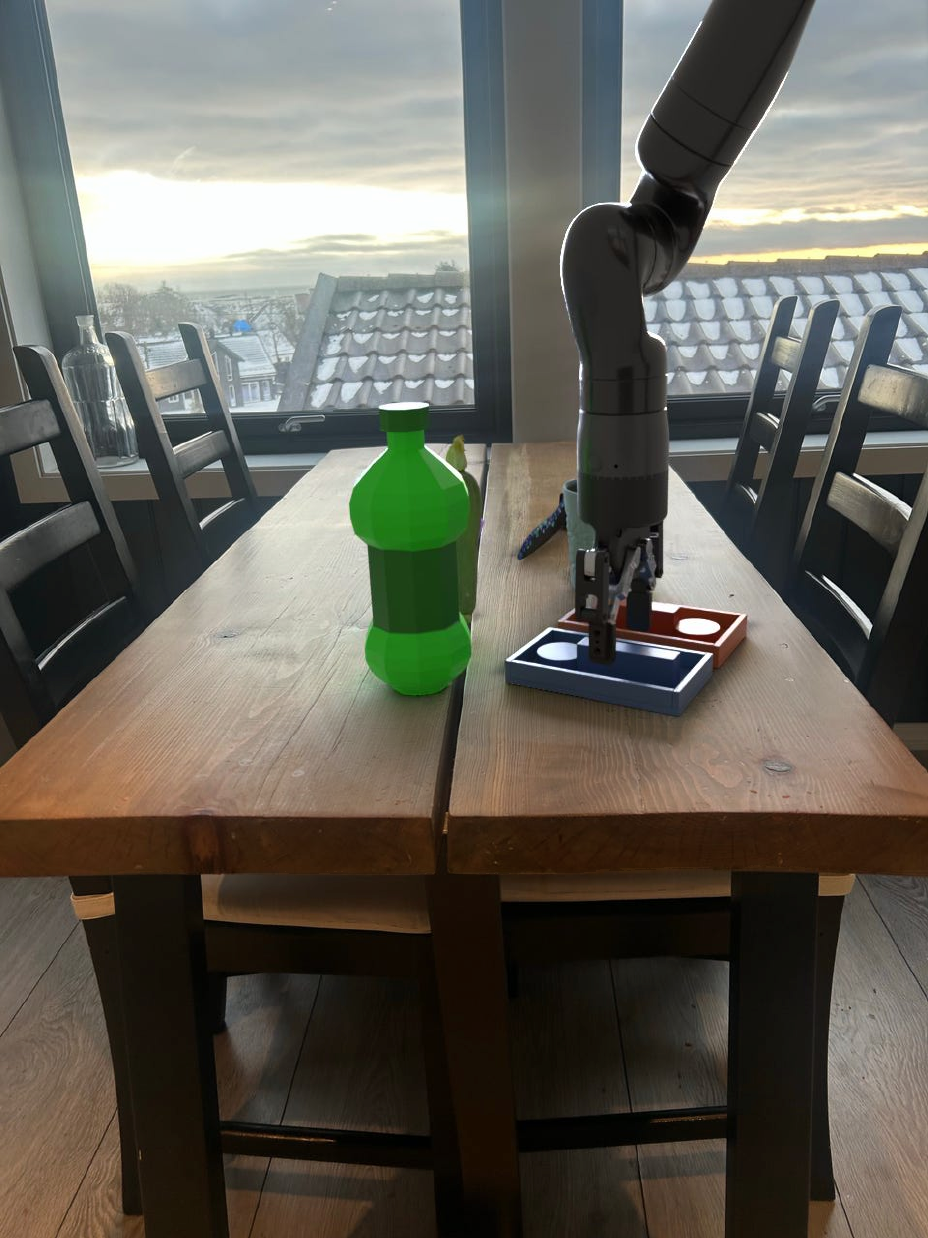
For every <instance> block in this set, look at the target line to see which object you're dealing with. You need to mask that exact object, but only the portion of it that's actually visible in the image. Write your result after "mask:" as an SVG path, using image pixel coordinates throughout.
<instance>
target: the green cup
mask: <svg viewBox="0 0 928 1238" xmlns="http://www.w3.org/2000/svg"><path fill="white" fill-rule="evenodd" d="M562 493H563V495H564V504H565V511H566V514H567V518H566V521H567V526H566V530H567V538H568V541H567V544H568V555H569V567H570V580H571V587H572V589H573V590H574V591H575V577H576V553H577V551H578V550H579V549H582V550H592V547H593V544H594V537H595V530H594V528H593V527H592V526H591V525H589V524H585V523H584V522H582V521H581V520H580V519H579V517H578V514H577V477H576V478H572V479H570V480H567V481H566V482H564V484H563V486H562ZM609 585H610V586H616V585H611V584H609ZM629 589H631V588H629ZM588 596H589V594H586V597H588Z"/></svg>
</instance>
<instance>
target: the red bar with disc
mask: <svg viewBox="0 0 928 1238" xmlns="http://www.w3.org/2000/svg"><path fill="white" fill-rule="evenodd" d="M609 602H610V598H609V599H608V606H609ZM596 608H597V607H596ZM615 622H616V628H618V629H625V630H629V629H628V628H627V627H626V599H624V600H622V601H621V602H620V605H619V609H618V613H617V618H616V621H615ZM587 624H588V622H587ZM720 629H721V628H720V626H719V625H718V624H717V623H715V622H713V621H710V620H705V619H685V620H681V621H680V607H677V606H670V605H663V604H656V603H652V626H651V628H650V629H649V630H648V631H647V632H644V633H650V634H657V635H663V636H670V637H676V638H682V639H689V640H695V641H702V642H708V643H714V644H715V643H716V642H717V641H718V640H719V639H720ZM631 631H632V630H631ZM638 632H639V631H638Z"/></svg>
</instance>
